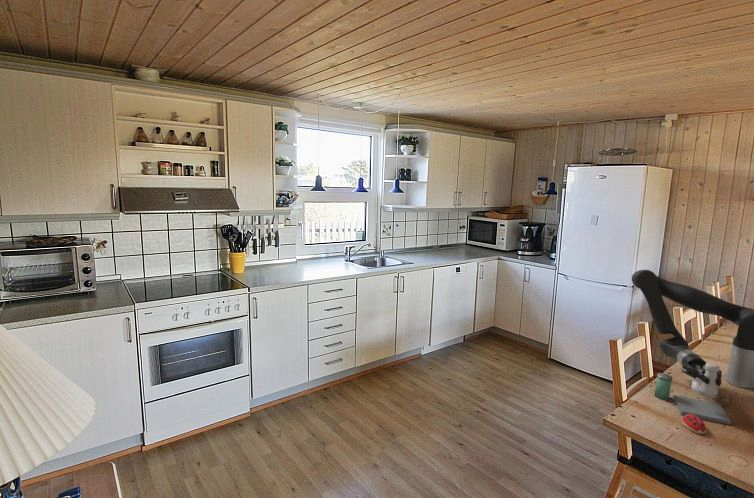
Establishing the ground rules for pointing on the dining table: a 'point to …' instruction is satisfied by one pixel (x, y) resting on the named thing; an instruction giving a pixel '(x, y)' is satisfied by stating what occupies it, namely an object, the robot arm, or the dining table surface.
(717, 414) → the cutting board
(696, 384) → the white dome
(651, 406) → the dining table surface
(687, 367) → the robot arm
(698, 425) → the ladybug figurine
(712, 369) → the salt shaker
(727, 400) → the brown wooden block
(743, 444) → the dining table surface
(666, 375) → the dark green jar
